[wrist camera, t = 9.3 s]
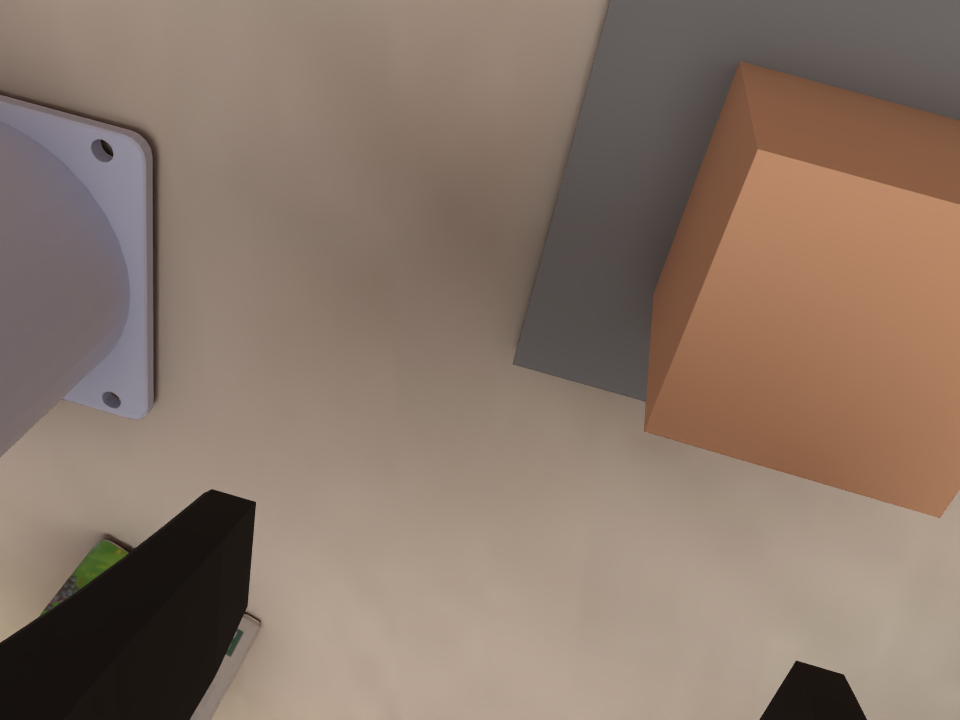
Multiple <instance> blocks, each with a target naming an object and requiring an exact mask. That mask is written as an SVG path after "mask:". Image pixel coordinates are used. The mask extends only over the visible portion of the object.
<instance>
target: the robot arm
mask: <svg viewBox="0 0 960 720" xmlns="http://www.w3.org/2000/svg"><path fill="white" fill-rule="evenodd" d="M101 139H102V140H104V141H106V142H108V144H109V145H110V146H111V147H112V150H113V156H110V155H109V154H107V153H106V152H105V151H104V150H103V148H102V145H101ZM111 392H112V393H114V394H116V395H117V396H118V397H119V398H120V400H119V399H117V398H115V397H114V396H113V395H112V394H111ZM61 399H64V400H67V401H71V402H74V403H78V404H81V405H85V406H88V407H92V408H95V409H98V410H102V411H105V412H109V413H112V414H116V415H119V416H122V417H126V418H129V419H136V420H138V419H142V418H144V417H145V416H146V415H147V414H148V412H149V411H150V410H151V409H152V407H153V403H154V391H153V157H152V152H151V148H150V146H149V145H148V143H147V141H146V140H145V139H144V138H143V137H142V136H141V135H140V134H138V133H136V132H134V131H131V130H128V129H124V128H121V127H117V126H113V125H110V124H106V123H102V122H99V121H95V120H91V119H88V118H84V117H80V116H77V115H73V114H69V113H65V112H62V111H58V110H54V109H51V108H47V107H43V106H40V105H36V104H32V103H29V102H25V101H21V100H18V99H14V98H10V97H7V96H3V95H0V457H1V456H2V455H3V454H4V453H5V452H6V451H8V450H9V449H10V448H11V447H12V446H13V445H14V444H15V443H16V442H17V441H18V440H19V439H20V438H21V437H22V436H23V435H24V434H25V433H26V432H27V431H29V430H30V429H31V428H32V427H33V426H34V425H35V424H36V423H37V422H38V421H39V420H40V419H41V418H42V417H43V416H44V415H45V414H46V413H47V412H49V411H50V410H51V409H52V408H53V407H54V406H55V405H56V404H57V403H58V402H59V401H60V400H61ZM255 508H256V502H254V501H250V500H247V499H244V498H240V497H237V496H233V495H230V494H227V493H223V492H220V491H216V490H213V489H212V490H210V491H208V492H205V493H203V494H202V495H201V496H200V497H199V498H197V499H196V500H195V501H194V502H193V503H191V504H190V505H189V506H188V507H187V508H185V509H184V510H183V511H182V512H180V513H179V514H178V515H177V516H175V517H174V518H173V519H172V520H171V521H169V522H168V523H167V524H166V525H164V526H163V527H162V528H161V529H159V530H158V531H157V532H156V533H154V534H153V535H152V536H150V537H149V538H148V539H147V540H145V541H144V542H143V543H141V544H140V545H139V546H138V547H136V548H135V549H134V550H132V551H131V552H130V553H128V554H127V555H126V556H125V557H123V558H122V559H121V560H119V561H118V562H116V563H115V564H114V565H112V566H111V567H110V568H108V569H107V570H105V571H104V572H103V573H101V574H100V575H99V576H97V577H96V578H95V579H93V580H92V581H90V582H89V583H88V584H86V585H85V586H84V587H82V588H81V589H80V590H78V591H77V592H75V593H74V594H73V595H71V596H70V597H68V598H67V599H65V600H64V601H63V602H61V603H60V604H58V605H57V606H55V607H54V608H52V609H51V610H49V611H48V612H46V613H45V614H43V615H42V616H40V617H38V618H37V619H35V620H34V621H32V622H31V623H29V624H28V625H26V626H25V627H23V628H22V629H20V630H19V631H17V632H16V633H14V634H13V635H11V636H10V637H8V638H7V639H5V640H4V641H2V642H1V643H0V720H190V718H191V717H192V715H193V713H194V712H195V710H196V708H197V707H198V705H199V703H200V702H201V700H202V698H203V697H204V695H205V693H206V692H207V690H208V688H209V686H210V685H211V683H212V681H213V680H214V678H215V676H216V674H217V672H218V670H219V668H220V665H221V663H222V661H223V659H224V657H225V655H226V653H227V650H228V648H229V646H230V644H231V642H232V640H233V637H234V635H235V633H236V631H237V628H238V626H239V624H240V622H241V619H242V617H243V615H244V613H245V611H246V608H247V605H248V593H249V581H250V569H251V556H252V544H253V532H254V520H255ZM760 720H867V719H866V717H865V715H864V713H863V711H862V709H861V707H860V705H859V703H858V701H857V699H856V697H855V695H854V693H853V691H852V689H851V687H850V686H849V684H848V682H847V680H846V678H845V676H844V675H843V674H840V673H836V672H833V671H830V670H826V669H823V668H819V667H816V666H813V665H809V664H806V663H802V662H799V661H796V662H795V663H794V665H793V667H792V668H791V670H790V672H789V673H788V675H787V676H786V678H785V680H784V681H783V683H782V684H781V686H780V688H779V689H778V691H777V692H776V694H775V696H774V697H773V699H772V700H771V702H770V704H769V705H768V707H767V709H766V710H765V712H764V713H763V715H762V717H761V718H760Z"/></svg>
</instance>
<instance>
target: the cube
mask: <svg viewBox="0 0 960 720" xmlns="http://www.w3.org/2000/svg"><path fill="white" fill-rule="evenodd" d="M644 432H648V433H651V434H655V435H658V436H662V437H665V438H668V439H672V440H675V441H679V442H682V443H686V444H689V445H692V446H696V447H699V448H703V449H706V450H709V451H713V452H716V453H720V454H723V455H727V456H730V457H733V458H737V459H740V460H744V461H747V462H750V463H754V464H757V465H761V466H764V467H768V468H771V469H774V470H778V471H781V472H785V473H788V474H791V475H795V476H798V477H802V478H805V479H809V480H812V481H815V482H819V483H822V484H826V485H829V486H833V487H836V488H839V489H843V490H846V491H850V492H853V493H856V494H860V495H863V496H867V497H870V498H874V499H877V500H880V501H884V502H887V503H891V504H894V505H897V506H901V507H904V508H908V509H911V510H915V511H918V512H921V513H925V514H928V515H932V516H935V517H938V518H940V517H941V516H942V514H943V513H944V511H945V510H946V508H947V507H948V505H949V504H950V503H951V501H952V500H953V498H954V497H955V495H956V494H957V492H958V491H959V489H960V120H956V119H952V118H948V117H945V116H941V115H937V114H934V113H930V112H926V111H923V110H919V109H915V108H911V107H908V106H904V105H900V104H897V103H893V102H889V101H886V100H882V99H878V98H875V97H871V96H867V95H863V94H860V93H856V92H852V91H849V90H845V89H841V88H838V87H834V86H830V85H826V84H823V83H819V82H815V81H812V80H808V79H804V78H801V77H797V76H793V75H790V74H786V73H782V72H778V71H775V70H771V69H767V68H764V67H760V66H756V65H753V64H749V63H745V62H742V61H740V62H739V64H738V67H737V70H736V72H735V75H734V78H733V80H732V83H731V86H730V89H729V91H728V94H727V97H726V99H725V102H724V105H723V107H722V110H721V113H720V116H719V118H718V121H717V124H716V126H715V129H714V132H713V134H712V137H711V140H710V143H709V145H708V148H707V151H706V153H705V156H704V159H703V161H702V164H701V167H700V170H699V172H698V175H697V178H696V180H695V183H694V186H693V188H692V191H691V194H690V197H689V199H688V202H687V205H686V207H685V210H684V213H683V216H682V218H681V221H680V224H679V226H678V229H677V232H676V234H675V237H674V240H673V243H672V245H671V248H670V251H669V253H668V256H667V259H666V261H665V264H664V267H663V270H662V272H661V275H660V278H659V280H658V283H657V286H656V288H655V291H654V294H653V307H652V322H651V336H650V351H649V366H648V381H647V395H646V410H645V425H644Z"/></svg>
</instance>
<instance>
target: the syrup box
mask: <svg viewBox="0 0 960 720" xmlns="http://www.w3.org/2000/svg"><path fill="white" fill-rule="evenodd" d="M127 554H128V552H127V551H126V550H124V549H123V548H122V547H120V546H118V545H117V544H115V543H113V542H111V541H109V540H105V539H104V540H100V541H99V542H98V543H97V544H96V545H95V546H94V547H93V548H92V550H91V551H90V552H89V553H88V555H87V556H86V557H85V559H84V560H83V561H82V562H81V564H80V565H79V566H78V567H77V569H76V570H75V571H74V572H73V574H72V575H71V576H70V578H69V579H68V580H67V581H66V583H65V584H64V585H63V586H62V588H61V589H60V590H59V591H58V593H57V594H56V595H55V597H54V598H53V599H52V600H51V602H50V603H49V604H48V606H47V607H46V608H45V609H44V611H43V612H42V613H41V615H40V616H42V615H43V614H45V613H46V612H48V611H49V610H51V609H52V608H54V607H55V606H57V605H58V604H60V603H61V602H63V601H64V600H65V599H67V598H68V597H70V596H71V595H73V594H74V593H75V592H77V591H78V590H80V589H81V588H82V587H84V586H85V585H86V584H88V583H89V582H90V581H92V580H93V579H95V578H96V577H97V576H99V575H100V574H101V573H103V572H104V571H105V570H107V569H108V568H110V567H111V566H112V565H114V564H115V563H116V562H118V561H119V560H121V559H122V558H123V557H125V556H126V555H127ZM40 616H39V617H40ZM259 625H260V622H259V621H258V620H256V619H254V618H253V617H251V616H249V615H247V614H244V615H243V617H242V619H241V622H240V624H239V626H238V628H237V631H236V633H235V635H234V637H233V640H232V642H231V644H230V646H229V648H228V650H227V653H226V655H225V657H224V659H223V661H222V663H221V665H220V668H219V670H218V672H217V674H216V676H215V678H214V680H213V681H212V683H211V685H210V686H209V688H208V690H207V692H206V693H205V695H204V697H203V698H202V700H201V702H200V703H199V705H198V707H197V708H196V710H195V712H194V713H193V715H192V717H191V718H190V720H211V719H212V717H213V715H214V713H215V711H216V709H217V707H218V705H219V704H220V702H221V700H222V698H223V696H224V695H225V693H226V691H227V689H228V688H229V686H230V684H231V682H232V681H233V679H234V677H235V675H236V673H237V672H238V670H239V668H240V666H241V664H242V662H243V661H244V659H245V657H246V655H247V653H248V651H249V650H250V648H251V646H252V644H253V642H254V640H255V638H256V636H257V634H258V631H259Z"/></svg>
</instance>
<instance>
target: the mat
mask: <svg viewBox="0 0 960 720" xmlns="http://www.w3.org/2000/svg"><path fill="white" fill-rule="evenodd" d="M740 61H742V62H745V63H749V64H753V65H756V66H760V67H764V68H767V69H771V70H775V71H778V72H782V73H786V74H790V75H793V76H797V77H801V78H804V79H808V80H812V81H815V82H819V83H823V84H826V85H830V86H834V87H838V88H841V89H845V90H849V91H852V92H856V93H860V94H863V95H867V96H871V97H875V98H878V99H882V100H886V101H889V102H893V103H897V104H900V105H904V106H908V107H911V108H915V109H919V110H923V111H926V112H930V113H934V114H937V115H941V116H945V117H948V118H952V119H956V120H960V0H610V3H609V7H608V11H607V15H606V18H605V22H604V26H603V29H602V33H601V37H600V41H599V44H598V48H597V52H596V56H595V59H594V63H593V67H592V71H591V74H590V78H589V82H588V86H587V89H586V93H585V97H584V100H583V104H582V108H581V112H580V115H579V119H578V123H577V127H576V130H575V134H574V138H573V142H572V145H571V149H570V153H569V156H568V160H567V164H566V168H565V171H564V175H563V179H562V183H561V186H560V190H559V194H558V198H557V201H556V205H555V209H554V212H553V216H552V220H551V224H550V227H549V231H548V235H547V239H546V242H545V246H544V250H543V254H542V257H541V261H540V265H539V269H538V272H537V276H536V280H535V283H534V287H533V291H532V295H531V298H530V302H529V306H528V310H527V313H526V317H525V321H524V325H523V328H522V332H521V336H520V339H519V343H518V347H517V351H516V354H515V358H514V362H513V364H514V365H517V366H521V367H525V368H528V369H532V370H535V371H539V372H542V373H546V374H550V375H553V376H557V377H560V378H564V379H567V380H571V381H575V382H578V383H582V384H585V385H589V386H592V387H596V388H600V389H603V390H607V391H610V392H614V393H617V394H621V395H625V396H628V397H632V398H635V399H639V400H642V401H646V395H647V381H648V366H649V351H650V336H651V322H652V307H653V294H654V291H655V288H656V286H657V283H658V280H659V278H660V275H661V272H662V270H663V267H664V264H665V261H666V259H667V256H668V253H669V251H670V248H671V245H672V243H673V240H674V237H675V234H676V232H677V229H678V226H679V224H680V221H681V218H682V216H683V213H684V210H685V207H686V205H687V202H688V199H689V197H690V194H691V191H692V188H693V186H694V183H695V180H696V178H697V175H698V172H699V170H700V167H701V164H702V161H703V159H704V156H705V153H706V151H707V148H708V145H709V143H710V140H711V137H712V134H713V132H714V129H715V126H716V124H717V121H718V118H719V116H720V113H721V110H722V107H723V105H724V102H725V99H726V97H727V94H728V91H729V89H730V86H731V83H732V80H733V78H734V75H735V72H736V70H737V67H738V64H739V62H740Z"/></svg>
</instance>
